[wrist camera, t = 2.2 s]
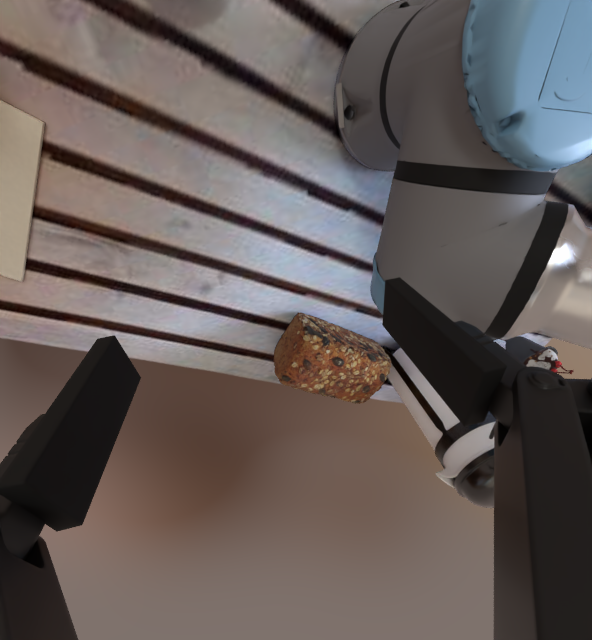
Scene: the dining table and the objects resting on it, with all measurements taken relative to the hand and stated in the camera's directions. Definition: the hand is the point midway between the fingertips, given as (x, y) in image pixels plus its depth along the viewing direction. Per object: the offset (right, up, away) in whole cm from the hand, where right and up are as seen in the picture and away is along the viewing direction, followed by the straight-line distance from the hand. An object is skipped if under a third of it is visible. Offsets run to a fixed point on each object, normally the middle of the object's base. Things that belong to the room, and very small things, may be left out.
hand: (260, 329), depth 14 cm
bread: (+7, -4, +39) cm, 40 cm away
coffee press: (+26, -6, +44) cm, 52 cm away
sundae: (+44, -2, +45) cm, 63 cm away
